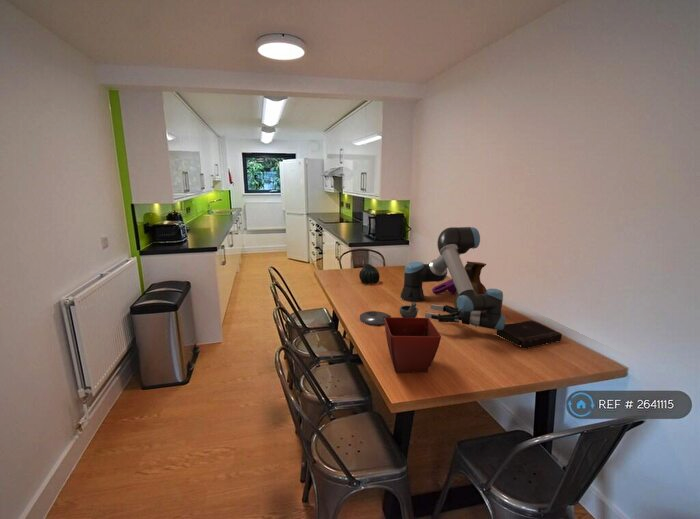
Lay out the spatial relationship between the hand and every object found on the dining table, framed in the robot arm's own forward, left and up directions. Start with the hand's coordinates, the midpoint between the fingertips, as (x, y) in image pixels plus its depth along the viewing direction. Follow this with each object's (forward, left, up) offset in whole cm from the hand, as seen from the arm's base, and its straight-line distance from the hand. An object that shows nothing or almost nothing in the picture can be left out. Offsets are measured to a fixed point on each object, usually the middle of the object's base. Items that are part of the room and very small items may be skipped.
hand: (428, 310), depth 179 cm
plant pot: (+36, +28, -8) cm, 46 cm away
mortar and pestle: (+6, -8, -8) cm, 13 cm away
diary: (-32, +35, -8) cm, 48 cm away
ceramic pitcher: (-35, -2, -8) cm, 36 cm away
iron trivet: (+21, -18, -8) cm, 29 cm away
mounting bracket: (-49, -35, -8) cm, 61 cm away
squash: (-15, -79, -8) cm, 81 cm away
